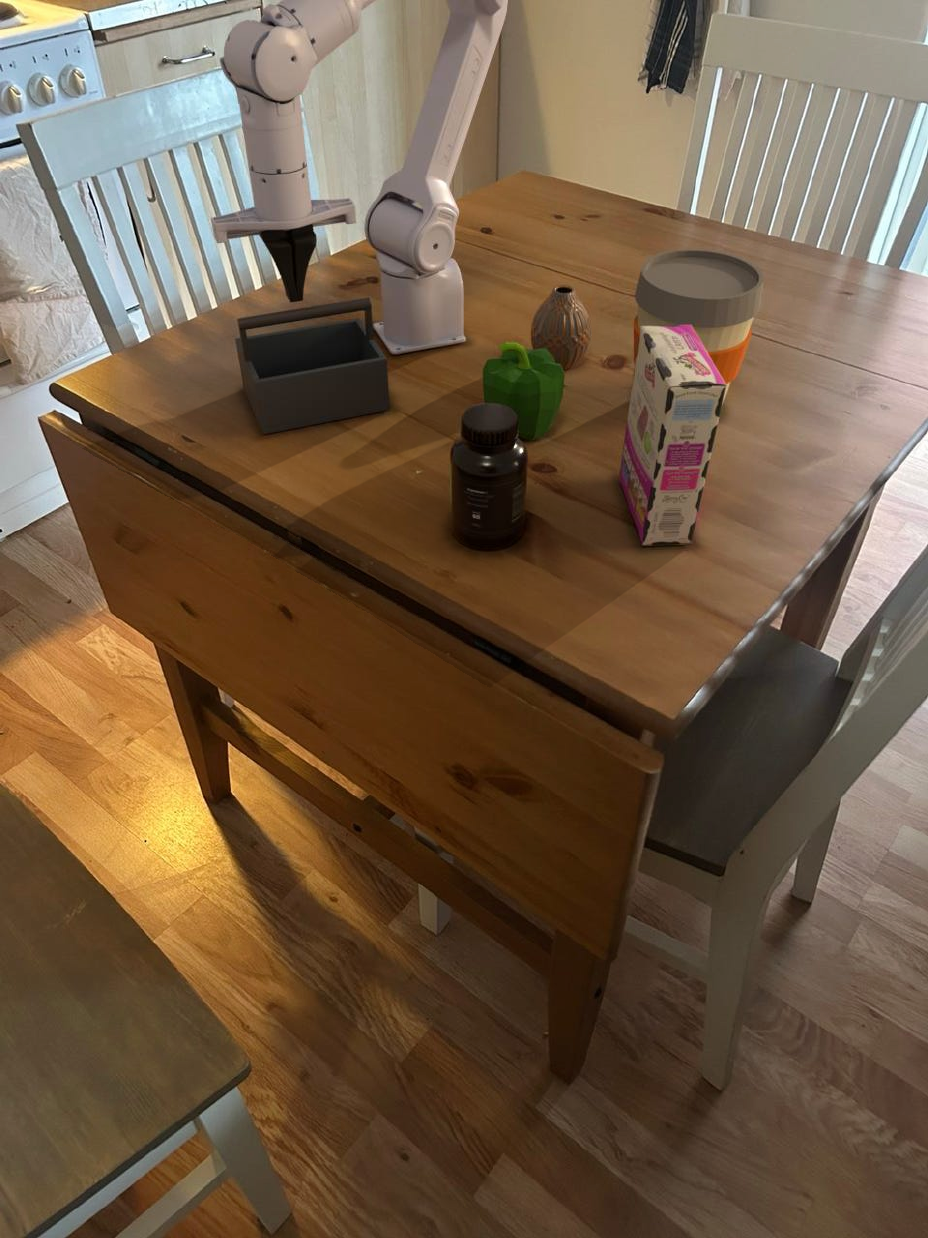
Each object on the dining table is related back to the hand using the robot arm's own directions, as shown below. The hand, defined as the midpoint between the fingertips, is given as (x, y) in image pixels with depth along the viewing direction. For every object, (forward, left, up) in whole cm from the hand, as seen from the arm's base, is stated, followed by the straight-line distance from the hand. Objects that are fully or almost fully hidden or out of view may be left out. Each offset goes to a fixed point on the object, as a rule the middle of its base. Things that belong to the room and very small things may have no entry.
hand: (294, 297), depth 103 cm
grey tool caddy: (0, +5, -10) cm, 11 cm away
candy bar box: (-25, +37, -10) cm, 45 cm away
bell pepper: (-19, +19, -10) cm, 28 cm away
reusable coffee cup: (-37, +21, -10) cm, 43 cm away
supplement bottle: (-9, +34, -10) cm, 36 cm away
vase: (-29, +7, -10) cm, 31 cm away
